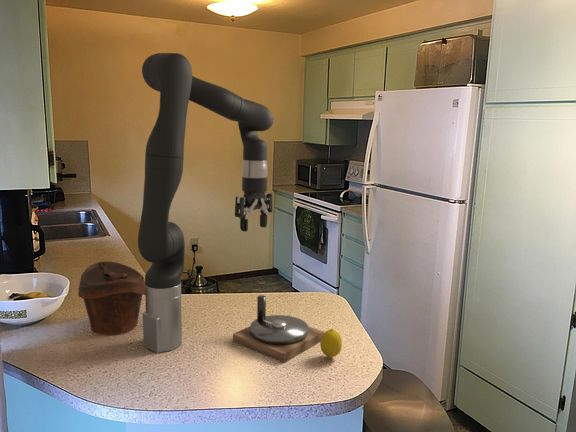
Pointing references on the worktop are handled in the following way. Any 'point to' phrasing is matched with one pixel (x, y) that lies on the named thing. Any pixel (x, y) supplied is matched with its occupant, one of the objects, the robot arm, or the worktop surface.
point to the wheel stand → (278, 350)
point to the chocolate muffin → (112, 297)
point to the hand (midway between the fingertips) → (254, 229)
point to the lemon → (331, 343)
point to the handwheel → (276, 326)
